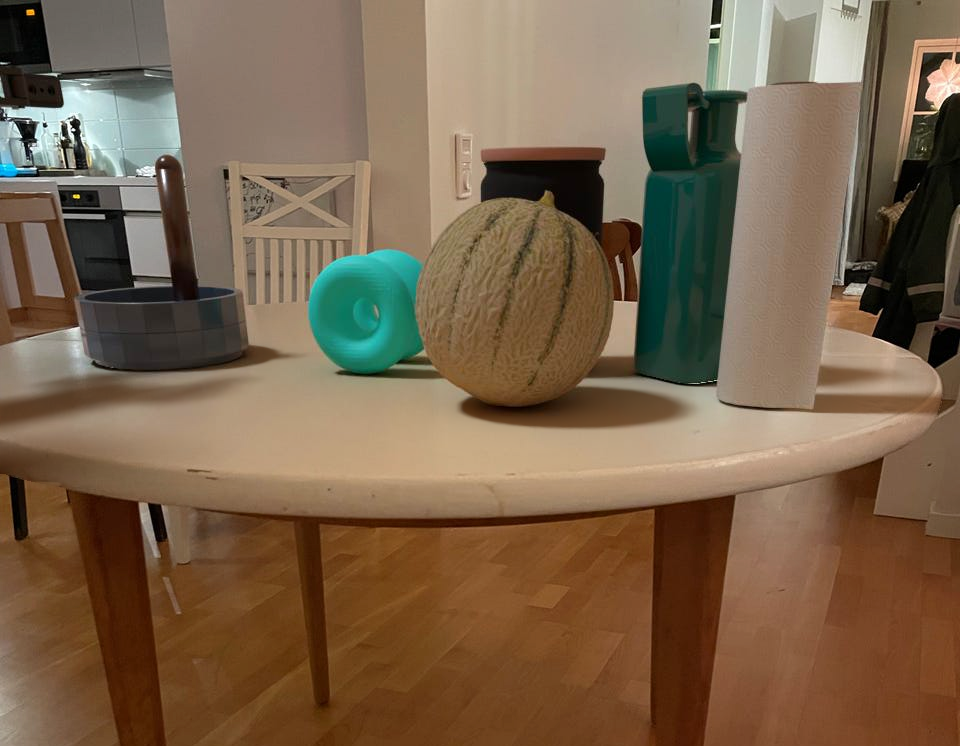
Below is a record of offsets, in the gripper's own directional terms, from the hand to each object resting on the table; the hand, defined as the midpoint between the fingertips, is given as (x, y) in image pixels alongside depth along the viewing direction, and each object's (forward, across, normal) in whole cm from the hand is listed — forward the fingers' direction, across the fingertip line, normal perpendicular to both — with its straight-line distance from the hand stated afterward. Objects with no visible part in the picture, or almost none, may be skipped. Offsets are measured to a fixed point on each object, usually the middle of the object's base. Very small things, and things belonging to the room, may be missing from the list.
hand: (27, 94), depth 75 cm
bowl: (+10, 0, +22) cm, 24 cm away
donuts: (+17, -22, +22) cm, 35 cm away
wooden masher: (+11, -3, +22) cm, 24 cm away
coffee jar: (+24, -35, +22) cm, 48 cm away
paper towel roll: (+20, -57, +22) cm, 64 cm away
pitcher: (+27, -48, +22) cm, 60 cm away
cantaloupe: (+9, -41, +22) cm, 48 cm away
